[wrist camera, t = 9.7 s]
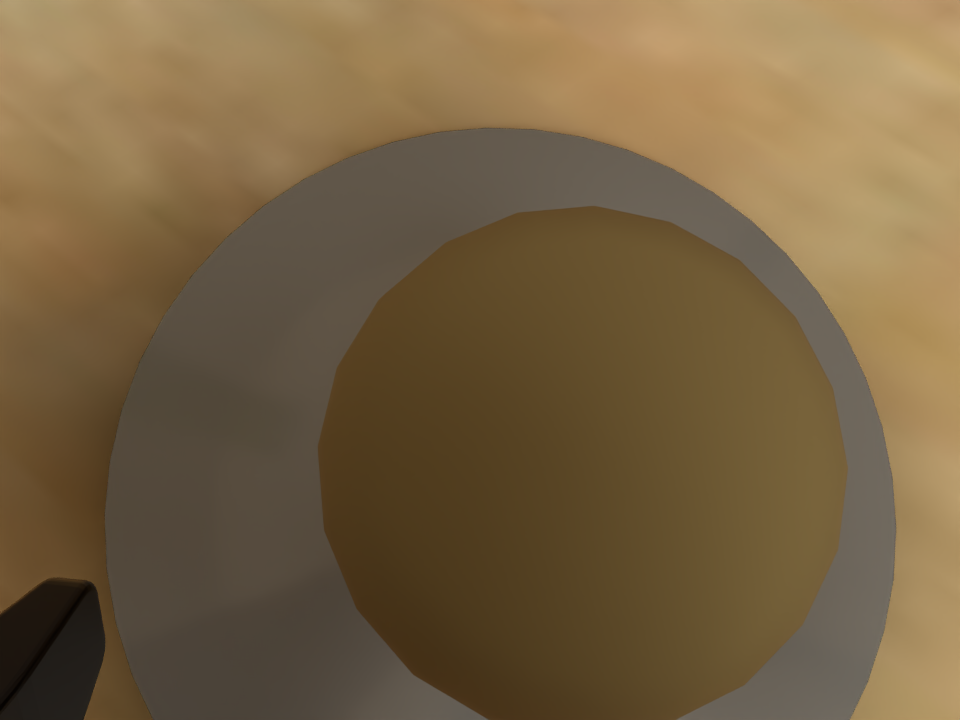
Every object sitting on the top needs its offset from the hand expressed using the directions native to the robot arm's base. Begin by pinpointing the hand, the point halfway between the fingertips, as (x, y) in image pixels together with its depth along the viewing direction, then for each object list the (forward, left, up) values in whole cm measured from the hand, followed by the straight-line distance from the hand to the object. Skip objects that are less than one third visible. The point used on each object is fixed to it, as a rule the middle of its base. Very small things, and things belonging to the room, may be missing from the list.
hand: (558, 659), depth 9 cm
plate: (+1, +2, -10) cm, 11 cm away
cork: (+1, +2, -10) cm, 10 cm away
